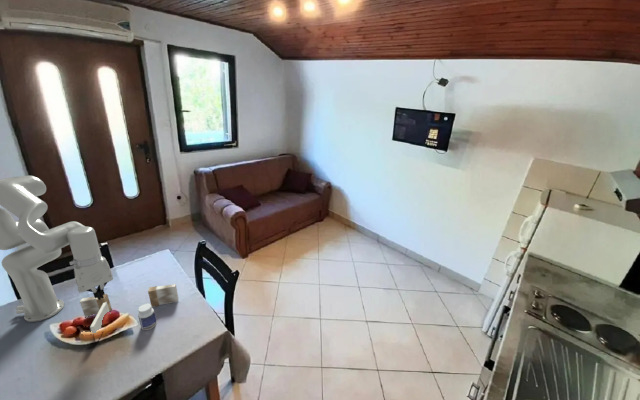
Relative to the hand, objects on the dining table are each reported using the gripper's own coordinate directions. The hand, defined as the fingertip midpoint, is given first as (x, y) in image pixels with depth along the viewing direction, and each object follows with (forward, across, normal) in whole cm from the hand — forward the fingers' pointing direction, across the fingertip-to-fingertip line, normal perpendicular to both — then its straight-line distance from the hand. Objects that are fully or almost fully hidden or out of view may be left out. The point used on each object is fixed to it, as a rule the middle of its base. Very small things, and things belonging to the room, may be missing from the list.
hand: (100, 297), depth 105 cm
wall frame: (+17, +11, +5) cm, 21 cm away
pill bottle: (+17, +11, -11) cm, 23 cm away
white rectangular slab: (+17, -2, +2) cm, 17 cm away
